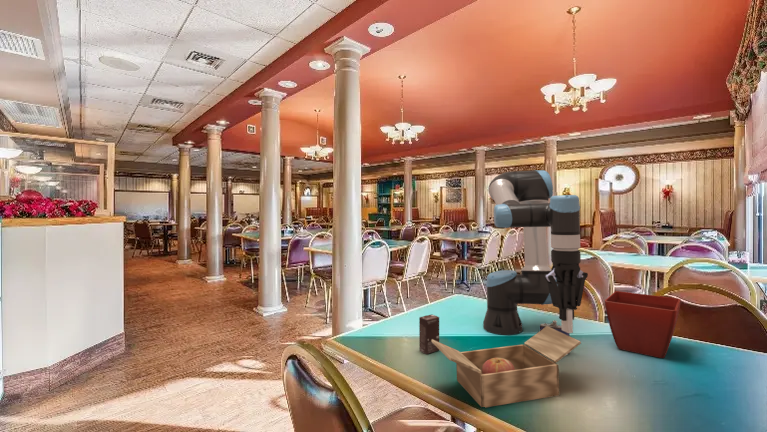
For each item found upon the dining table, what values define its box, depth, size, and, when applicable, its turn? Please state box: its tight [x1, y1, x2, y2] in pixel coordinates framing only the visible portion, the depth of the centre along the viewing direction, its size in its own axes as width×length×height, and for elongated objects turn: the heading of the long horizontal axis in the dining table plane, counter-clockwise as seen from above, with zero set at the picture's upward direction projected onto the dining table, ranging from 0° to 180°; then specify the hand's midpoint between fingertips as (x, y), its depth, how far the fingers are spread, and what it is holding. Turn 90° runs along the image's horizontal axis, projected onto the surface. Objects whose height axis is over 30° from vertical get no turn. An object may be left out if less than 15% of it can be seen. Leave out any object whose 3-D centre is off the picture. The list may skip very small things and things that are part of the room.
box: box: [418, 314, 440, 355], centre depth 125 cm, size 6×4×12 cm
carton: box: [455, 343, 560, 408], centre depth 99 cm, size 22×15×8 cm
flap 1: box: [431, 339, 481, 373], centre depth 95 cm, size 1×13×9 cm
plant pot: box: [604, 290, 682, 359], centre depth 122 cm, size 19×19×17 cm
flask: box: [539, 320, 571, 355], centre depth 121 cm, size 9×3×11 cm, turn 68°
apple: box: [482, 358, 515, 374], centre depth 98 cm, size 9×9×8 cm
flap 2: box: [524, 326, 582, 364], centre depth 102 cm, size 1×13×9 cm
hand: (567, 331), depth 103 cm, fingers closed
